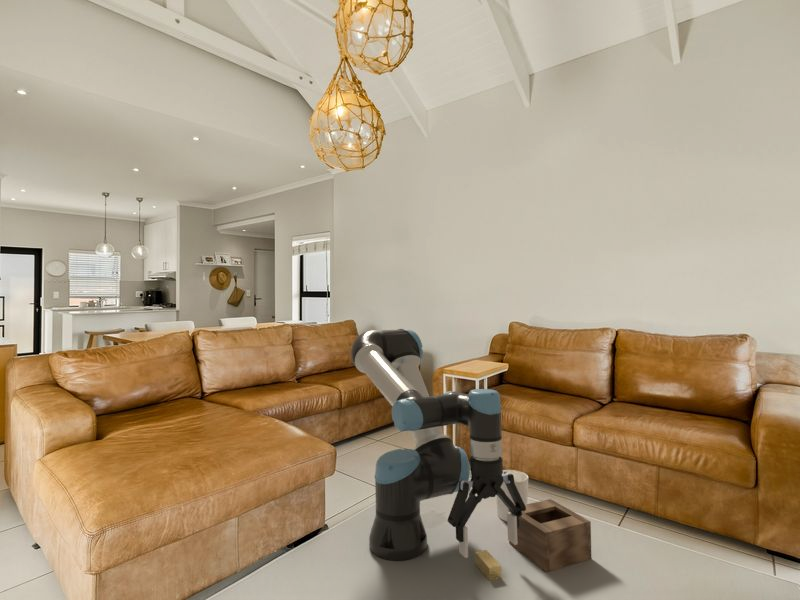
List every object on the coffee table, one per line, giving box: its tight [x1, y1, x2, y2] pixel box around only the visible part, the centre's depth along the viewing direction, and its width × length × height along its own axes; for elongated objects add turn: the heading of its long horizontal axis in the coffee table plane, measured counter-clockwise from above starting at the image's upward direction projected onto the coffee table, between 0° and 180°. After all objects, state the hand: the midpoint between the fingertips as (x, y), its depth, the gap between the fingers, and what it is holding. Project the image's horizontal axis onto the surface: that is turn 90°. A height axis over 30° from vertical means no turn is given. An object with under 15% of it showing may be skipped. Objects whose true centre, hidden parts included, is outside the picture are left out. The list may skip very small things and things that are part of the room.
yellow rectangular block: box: [474, 549, 502, 581], centre depth 102 cm, size 3×7×3 cm, turn 17°
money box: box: [508, 498, 593, 573], centre depth 110 cm, size 14×14×9 cm
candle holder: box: [495, 469, 529, 522], centre depth 129 cm, size 10×10×12 cm
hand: (488, 548), depth 101 cm, fingers open, 13 cm apart
